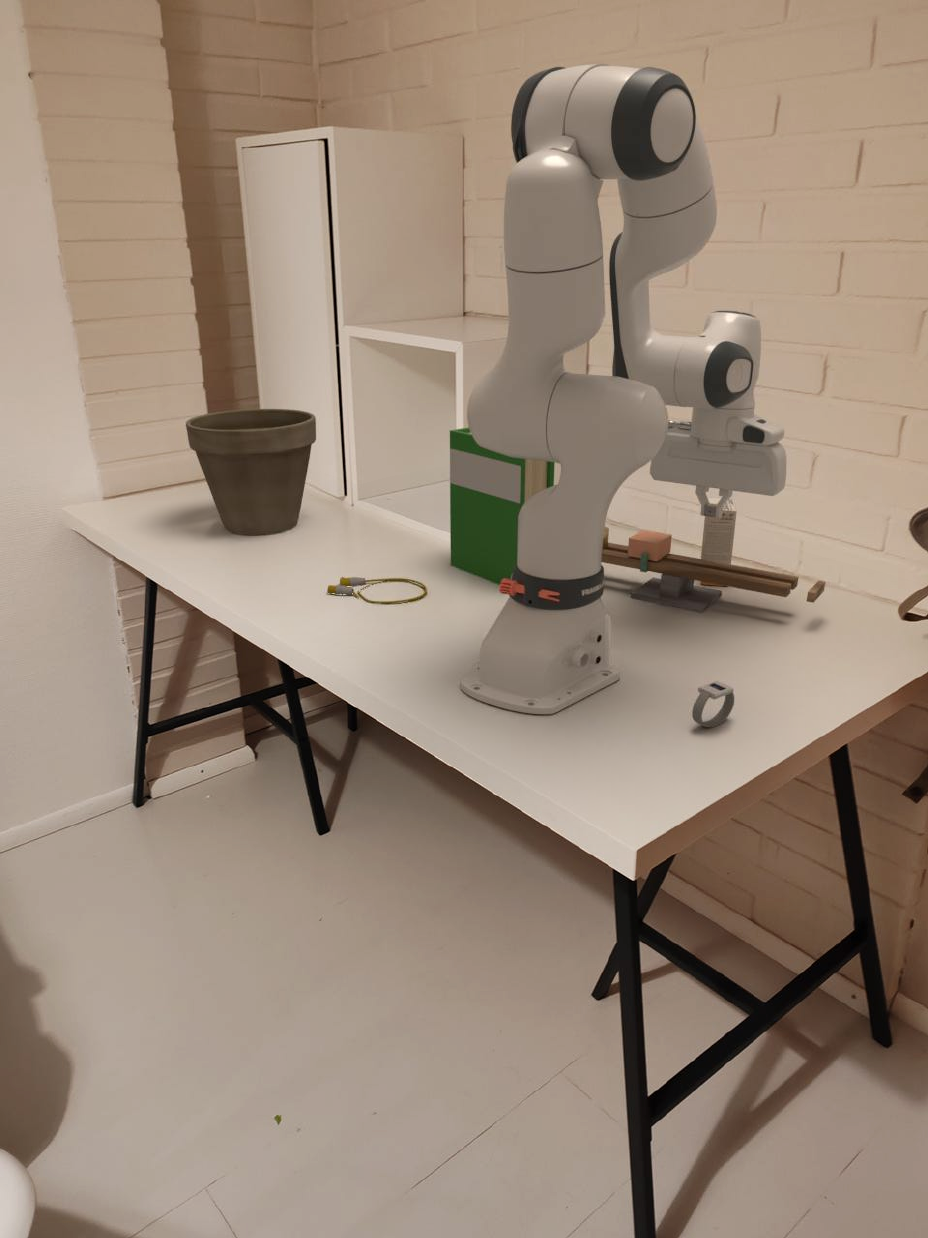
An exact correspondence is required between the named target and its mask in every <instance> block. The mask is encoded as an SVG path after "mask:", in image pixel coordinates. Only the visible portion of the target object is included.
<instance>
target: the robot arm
mask: <svg viewBox="0 0 928 1238" xmlns="http://www.w3.org/2000/svg"><path fill="white" fill-rule="evenodd" d="M696 115H697V114H696V107H695V102H694V99H693V97H692V94H691V92H690V89H689V88H688V86H687V85H686V83H685V82H684V80H683V79H682V78H681V77H680V76H678V75H677V74H675V73H674V72H671V71H668V70H666V69H662V68H657V67H653V66H645V67H641V68H638V67H629V66H621V65H618V66H617V65H610V64H607V63H594V64H593V63H592V64H583V65H575V66H570V67H564V66H555V67H551V68H547V69H544V70H541V71H539V72H536V73H535V74H533V75H532V76H529V77H528V78H527V79H526V80H525V81H524V82H523V84H522V85H521V86H520V88H519V90H518V92H517V94H516V97H515V100H514V104H513V108H512V112H511V121H510V122H511V124H510V133H511V135H510V136H511V142H512V150H513V151H512V152H513V156H514V159H515V162H516V164H515V165H514V166H513V167H512V168H511V170H510V172H509V174H508V176H507V179H506V182H505V183H506V185H505V196H504V204H503V205H504V208H503V248H504V249H503V250H504V251H503V252H504V264H505V265H504V266H505V274H506V275H505V276H506V289H507V303H508V304H507V305H508V306H507V307H508V308H507V309H508V325H507V326H508V328H507V335H506V341H505V345H504V347H503V350H502V353H501V355H500V358H498V360H497V362H496V364H494V366H493V368H492V369H491V370H490V371H488V372H487V373H486V374H485V375H484V376H483V377H481V378H480V379H479V381H478V382H477V383H476V384H475V385H474V387H473V389H472V391H471V393H470V396H469V397H468V400H467V407H466V419H467V426H468V428H469V429H470V432H471V434H472V436H473V438H474V440H475V441H476V443H477V444H478V445H479V446H481V447H483V448H486V449H489V450H491V451H494V452H497V453H500V454H503V455H506V456H509V457H513V458H522V459H531V460H540V461H549V462H555V463H556V464H559V465H560V475H559V480H558V482H557V484H554V486H552V487H549V488H546V489H544V490H542V491H540V492H538V493H536V494H534V495H532V496H531V497H530V498H528V499H527V500H526V501H525V503H524V504H523V506H522V508H521V510H520V512H519V515H518V548H517V563H516V564H515V566H514V570H513V573H512V575H511V580H509V579H506V578H503V579H502V580H501V582H502V583H500V585H499V587H498V588H499V592H500V593H501V594H503V595H508V596H509V597H508V599H507V601H506V602H505V604H504V606H503V607H502V609H501V610H500V612H499V614H498V615H497V617H496V618H495V620H494V622H493V624H492V625H491V627H490V629H489V630H488V632H487V634H486V636H484V639H483V640H482V641H481V647H480V651H479V661H478V662H477V663H476V664H475V665H474V666H473V667H472V669H471V670H469V672H468V673H467V674H466V675H465V676H464V677H463V678H462V680H461V681H460V689H461V691H462V692H463V693H464V694H466V695H468V696H469V697H471V698H473V699H475V700H478V701H480V702H482V703H486V704H489V705H491V706H494V707H499V708H502V709H506V710H509V711H514V712H520V713H525V714H531V715H532V714H533V715H534V714H535V715H552V714H555V713H557V712H559V711H562V710H563V709H565V708H567V707H569V706H571V705H572V704H575V703H577V702H579V701H580V700H582V699H584V698H586V697H588V696H590V695H593V694H594V693H596V692H597V691H599V690H601V689H603V688H605V687H607V686H609V685H612V684H613V683H614V682H616V681H618V680H620V677H621V676H620V670H619V669H618V667H617V666H615V665H614V664H613V661H612V620H611V617H610V614H609V613H608V612H607V610H606V608H605V606H604V603H603V601H602V597H603V595H604V590H605V589H604V587H605V586H604V585H605V583H606V582H605V579H606V577H605V567H604V566H603V565H602V562H601V560H602V547H603V537H604V529H605V527H606V522H607V515H608V511H609V509H610V506H611V503H612V501H613V499H614V497H615V495H616V493H617V491H618V490H619V488H621V486H622V485H623V484H624V483H625V481H626V480H627V479H628V478H630V476H631V475H632V474H634V473H636V471H638V470H639V469H641V468H642V467H645V466H646V465H647V464H648V463H649V462H650V466H649V475H650V476H651V477H652V479H653V480H654V481H659V482H667V483H675V484H682V485H688V486H689V485H690V486H695V495H696V497H697V499H698V503H699V504H700V514H699V515H700V516H702V517H705V516H709V517H715V518H720V517H722V513H723V506H724V505H725V504H726V502H727V501H728V500H729V499H731V497H732V496H733V491H734V492H740V493H748V494H755V495H761V496H763V495H764V496H770V497H774V496H777V495H778V494H779V493H781V492H782V491H783V490H784V489H785V486H786V479H787V478H786V477H787V453H786V449H785V447H784V446H783V444H782V443H780V442H781V441H782V440H783V439H784V436H785V428H784V427H783V426H782V425H779V424H778V423H774V422H773V421H771V420H768V419H766V418H763V417H761V416H759V415H757V414H755V405H756V404H755V397H754V396H755V395H754V391H755V387H756V383H757V381H758V379H759V374H760V364H761V356H762V355H761V353H762V351H761V349H762V348H761V347H762V334H761V333H762V332H761V331H762V330H761V324H760V320H759V318H757V317H756V316H755V315H753V314H751V313H748V312H740V311H736V310H735V311H734V310H716V311H713V312H710V313H708V315H707V317H706V319H705V322H704V325H703V326H704V327H703V330H702V332H701V333H700V334H698V336H684V335H682V336H681V335H671V334H670V335H668V334H663V333H660V332H658V331H657V330H655V329H654V328H653V327H652V326H651V317H650V315H651V313H650V294H649V292H650V290H649V280H652V279H655V278H656V277H659V276H660V275H663V274H666V273H669V272H671V271H674V270H676V269H678V268H680V267H681V266H683V265H685V264H686V263H688V262H689V261H690V260H692V259H693V258H694V257H695V256H697V255H698V254H699V253H700V252H701V250H703V249H704V248H705V246H706V245H707V244H708V242H709V241H710V239H711V237H712V235H713V233H714V231H715V227H716V224H717V214H718V211H717V209H718V208H717V206H718V204H717V197H716V190H715V184H714V177H713V172H712V166H711V162H710V158H709V157H710V156H709V153H708V149H707V145H706V141H705V138H704V135H703V132H702V128H701V126H700V123H699V120H698V118H697V116H696ZM604 180H616V181H617V187H618V195H619V199H620V205H621V209H622V214H623V228H622V232H620V233H618V234H617V235H616V237H615V239H614V240H613V242H612V244H611V248H610V254H609V260H608V261H609V262H608V263H609V264H608V268H609V270H608V273H609V274H608V276H609V293H610V294H609V295H610V306H611V307H610V308H611V309H610V310H611V311H610V312H611V322H612V333H613V334H612V335H613V336H612V337H613V353H612V354H613V356H612V367H611V368H612V372H611V373H612V374H611V375H602V374H601V375H600V374H587V373H586V374H585V373H584V374H583V373H571V372H569V371H568V372H567V371H566V370H565V366H564V357H565V354H567V353H569V352H571V351H574V350H575V349H576V350H577V348H579V347H582V346H583V345H585V344H586V343H588V342H589V341H590V340H592V339H593V338H594V337H595V336H596V335H597V334H598V333H599V331H600V329H601V327H602V326H603V323H604V321H605V317H606V293H605V271H604V269H605V268H604V245H603V233H602V231H603V230H602V222H601V221H602V220H601V215H600V208H599V202H598V201H599V197H600V194H601V189H602V186H603V184H604V182H605V181H604ZM667 406H672V407H681V408H692V412H691V413H692V415H691V421H674V420H673V419H672V420H671V419H669V414H668V408H667ZM710 488H712V489H717V490H718V489H719V492H718V497H721V498H720V499H721V500H720V501H719V502H718V504H711V503H709V501H708V498H709V497H708V496H707V494H706V493H707V492H709V491H710Z"/></svg>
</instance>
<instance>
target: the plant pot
mask: <svg viewBox="0 0 928 1238" xmlns="http://www.w3.org/2000/svg"><path fill="white" fill-rule="evenodd" d="M316 420H317V419H316V416H315V414H313V413H312V412H309V411H303V410H296V409H289V408H288V409H287V408H252V409H251V408H250V409H249V408H247V409H235V410H233V409H232V410H225V411H224V410H223V411H217V412H211V413H210V412H209V413H205V414H201V415H196V416H194V417H192V418H190V419H188V420H186V422H185V428H186V434H187V440H188V444H189V448H190V449H191V450H192V451H195V454H196V456H197V459H198V462H199V465H200V468H201V471H202V473H203V475H204V479H205V481H206V483H207V484H206V485H207V486H208V489H209V492H210V494H211V497H212V499H213V503H214V505H215V507H216V510H217V512H218V516H219V518H220V520H221V522H222V525H223V527H224V528H225V530H227V531H228V532H230V533H234V534H238V535H246V536H247V535H251V536H253V535H254V536H255V535H256V536H258V535H268V534H269V535H270V534H275V533H281V532H285V531H288V530H289V529H292V528H294V527H295V526H296V525H297V524H298V521H299V517H300V513H301V509H302V503H303V502H302V501H303V497H304V490H305V487H306V482H307V481H306V480H307V474H308V470H309V464H310V458H311V454H312V453H311V450H312V447H313V446H312V445H313V444H314V443H316V440H317V421H316Z"/></svg>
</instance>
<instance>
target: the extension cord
mask: <svg viewBox="0 0 928 1238" xmlns="http://www.w3.org/2000/svg"><path fill="white" fill-rule="evenodd" d="M387 581H390V582H402V581H404V582H405V583H408V582H409V583H408V584H411V583H412V584H411V585H413V586H414V585H415V586H416V585H417V587H419V588H421V589H423V591H424V592H423V593H422V594H420V595H418V596H415V597H411V598H407V599H399V600H392V601H391V600H389V601H388V600H385V601H384V600H383V601H379V600H378V601H377V600H370V599H369V598H366V597H365V596H364V595H362V593H361V591H360V592H359V590H362V589H363V590H365V589H367V588H368V587H371V586H370V585H372V586H374V584H375V585H378V584H382V583H381V582H383V583H387ZM371 582H374V583H371ZM404 582H403V583H404ZM366 583H370V584H368V585H366ZM377 583H378V584H377ZM339 584H341V585H339ZM339 584H337V585H336V584H335V585H330V584H328V586H327V591H326V592H327V594H328V593H335V594H342V595H343V594H346V595H347V596H349V595H348V594H351V595H350V596H353V595H354V596H355V598H357V597H358V598H362V599H363V600H364V601H365V600H366V602H368V603H370V602H371V603H370V604H373V603H381V604H380V605H403V604H402V603H405V604H409V603H408V602H410V603H413V601H414V602H416V600H417V601H419V600H422V599H423V598H425V597H426V596H427V595H428V588H427V587H426V585H425V584H424V583H422V582H420V581H418V580H414V579H410V578H402V577H401V578H400V577H398V578H397V577H391V578H390V577H389V578H388V577H387V578H376V579H366V578H365V577H355V576H352V577H343V576H341V577H340V579H339ZM363 584H364V585H366V586H364V585H363ZM357 585H360V586H364V587H362V588H360V589H359V590H358V591H357V593H356V592H355V591H354V588H353V587H358V586H357ZM347 586H352V587H347ZM366 587H367V588H366ZM364 588H365V589H364ZM363 590H362V591H363ZM352 593H353V595H352ZM358 593H359V594H358ZM424 596H425V597H424ZM418 599H419V600H418Z"/></svg>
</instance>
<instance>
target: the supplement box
mask: <svg viewBox="0 0 928 1238" xmlns="http://www.w3.org/2000/svg"><path fill="white" fill-rule="evenodd" d="M707 498H708V501H709V503H711V504H718V502H719V501H720V500H721V498H716V497H715V498H714V497H713V498H712V497H707ZM736 520H737V508H736V504H735V499H731V498H729V500H728V501H727V502H726V504H725V505H724V506H723V513H722V517H720V518H715V517H709V516H704V522H703V532H702V542H701V552H700V559H703V560H709V561H714V562H720V563H725V564H731V565H732V558H733V548H734V539H735V529H736ZM700 585H704V586H714V587H715V586H718V587H720V586H721V587H725V586H724V585H718V584H713V583H708V582H703V581H700Z"/></svg>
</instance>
